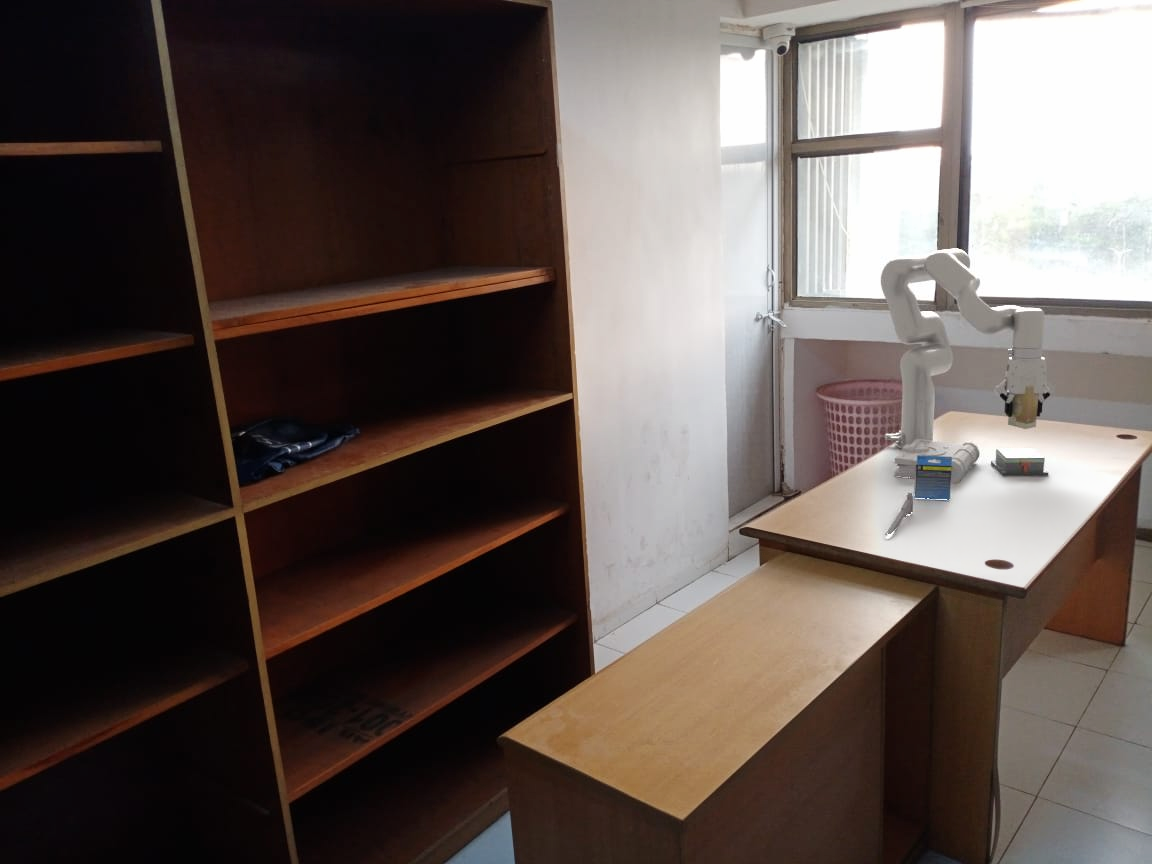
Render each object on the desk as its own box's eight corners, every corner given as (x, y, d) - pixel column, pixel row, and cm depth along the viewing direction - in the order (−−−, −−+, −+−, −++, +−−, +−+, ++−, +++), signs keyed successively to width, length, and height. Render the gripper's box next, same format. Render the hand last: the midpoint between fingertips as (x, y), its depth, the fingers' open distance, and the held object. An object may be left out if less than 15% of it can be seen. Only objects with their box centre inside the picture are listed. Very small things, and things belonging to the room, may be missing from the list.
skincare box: (1007, 425, 264) (1009, 383, 261) (1018, 422, 266) (1020, 381, 263) (1026, 429, 258) (1029, 386, 255) (1037, 427, 260) (1040, 384, 257)
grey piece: (1002, 476, 261) (1003, 459, 259) (990, 463, 272) (991, 447, 271) (1048, 475, 259) (1049, 458, 257) (1034, 463, 270) (1035, 447, 269)
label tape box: (949, 496, 247) (951, 452, 243) (950, 501, 243) (952, 456, 240) (914, 495, 249) (915, 451, 246) (914, 500, 245) (916, 455, 242)
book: (983, 459, 277) (984, 435, 275) (961, 486, 255) (962, 459, 253) (916, 454, 288) (917, 430, 286) (890, 478, 266) (890, 453, 264)
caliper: (908, 514, 236) (909, 490, 235) (912, 514, 236) (913, 491, 234) (884, 540, 220) (885, 515, 218) (889, 541, 219) (889, 515, 218)
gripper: (997, 356, 255) (994, 419, 259) (1065, 354, 252) (1060, 418, 256) (990, 351, 262) (986, 413, 266) (1055, 349, 259) (1051, 412, 264)
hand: (1022, 415), depth 261 cm, fingers closed on skincare box, 6 cm apart
